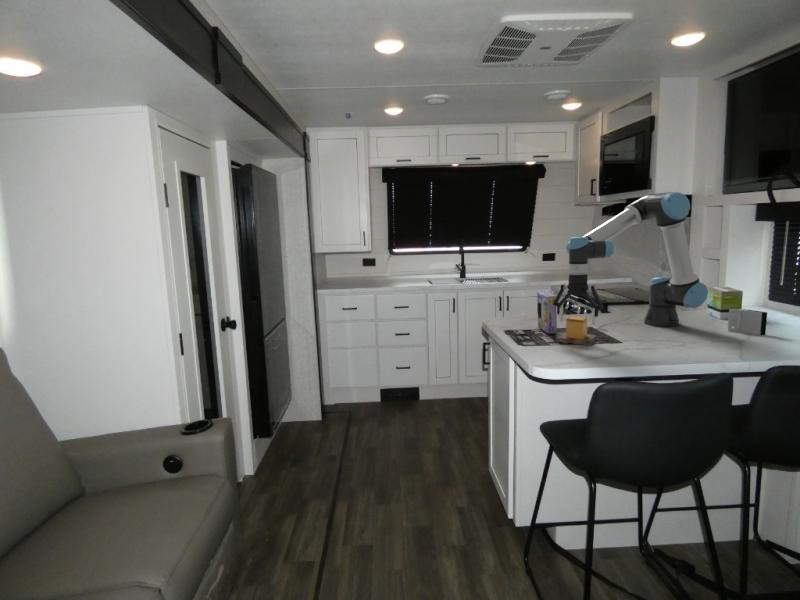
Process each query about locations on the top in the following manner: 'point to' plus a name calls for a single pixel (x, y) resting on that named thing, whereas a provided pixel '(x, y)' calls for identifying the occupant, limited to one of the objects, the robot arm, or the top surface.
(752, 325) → the gray black rectangular block
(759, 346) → the top surface
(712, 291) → the tea box
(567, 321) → the orange cube block
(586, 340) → the base plate
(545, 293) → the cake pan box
